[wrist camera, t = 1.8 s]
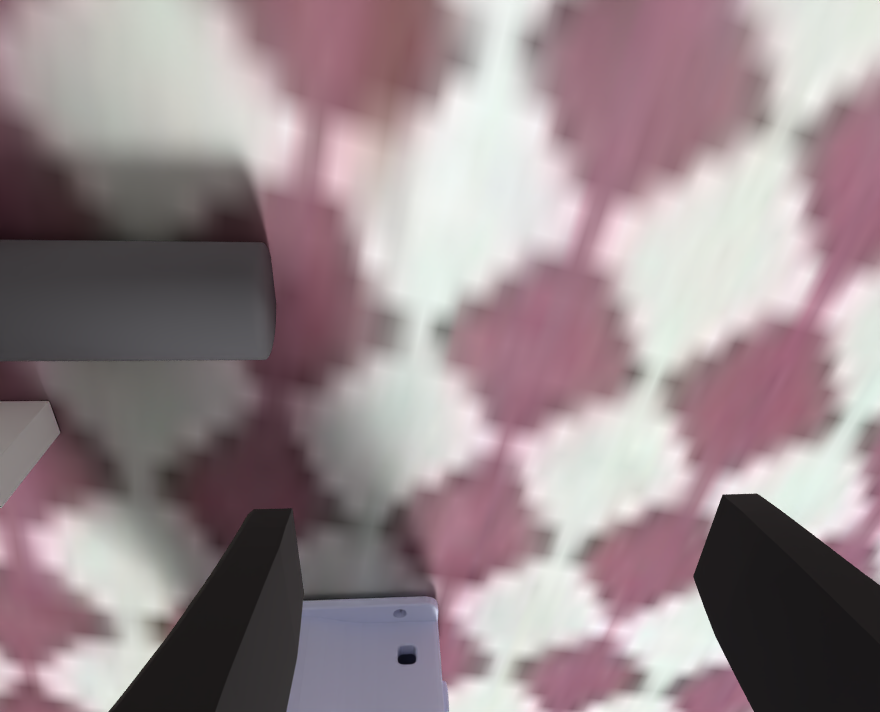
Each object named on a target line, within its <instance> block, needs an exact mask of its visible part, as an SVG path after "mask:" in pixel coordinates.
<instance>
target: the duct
mask: <svg viewBox="0 0 880 712" xmlns="http://www.w3.org/2000/svg"><path fill="white" fill-rule="evenodd" d="M59 434H60V430H59V428H58V425H57V422H56V419H55V416H54V414H53V411H52V408H51V405H50V402H49V401H0V508H2V507H3V505H4V504H5V503H6V502H7V500H8V499H9V498H10V496H11V495H12V494H13V493H14V491H15V490H16V489H17V488H18V486H19V485H20V484H21V482H22V481H23V480H24V479H25V477H26V476H27V475H28V474H29V472H30V471H31V470H32V468H33V467H34V466H35V465H36V463H37V462H38V461H39V460H40V458H41V457H42V456H43V454H44V453H45V452H46V451H47V449H48V448H49V447H50V446H51V444H52V443H53V442H54V440H55V439H56V438H57V437H58V435H59Z"/></svg>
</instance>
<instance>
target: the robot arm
mask: <svg viewBox="0 0 880 712" xmlns="http://www.w3.org/2000/svg"><path fill="white" fill-rule="evenodd" d="M693 577H694V580H695V583H696V585H697V588H698V591H699V594H700V597H701V600H702V602H703V605H704V608H705V611H706V613H707V616H708V618H709V621H710V624H711V626H712V629H713V631H714V634H715V636H716V638H717V640H718V642H719V644H720V646H721V648H722V650H723V652H724V654H725V656H726V658H727V660H728V662H729V664H730V666H731V668H732V670H733V672H734V674H735V676H736V678H737V680H738V682H739V684H740V686H741V688H742V690H743V691H744V693H745V695H746V697H747V699H748V701H749V703H750V705H751V707H752V709H753V711H754V712H880V585H879V584H877V583H876V582H875V581H873V580H872V579H870V578H869V577H868V576H866V575H865V574H864V573H862V572H861V571H860V570H859V569H857V568H856V567H855V566H853V565H852V564H851V563H849V562H848V561H847V560H845V559H844V558H843V557H841V556H840V555H839V554H837V553H836V552H835V551H833V550H832V549H831V548H830V547H828V546H827V545H826V544H824V543H823V542H822V541H820V540H819V539H818V538H816V537H815V536H814V535H813V534H811V533H810V532H809V531H807V530H806V529H805V528H803V527H802V526H801V525H799V524H798V523H797V522H795V521H794V520H793V519H791V518H790V517H789V516H787V515H786V514H785V513H783V512H782V511H781V510H779V509H778V508H777V507H775V506H774V505H773V504H771V503H770V502H768V501H767V500H766V499H764V498H763V497H761V496H760V495H758V494H731V495H722V498H721V501H720V504H719V506H718V509H717V512H716V515H715V518H714V520H713V523H712V526H711V529H710V531H709V534H708V537H707V540H706V543H705V545H704V548H703V551H702V554H701V556H700V559H699V562H698V565H697V568H696V570H695V573H694V576H693ZM303 596H304V590H303V583H302V576H301V568H300V561H299V554H298V547H297V539H296V532H295V525H294V517H293V510H292V508H287V509H255V510H253V511H252V512H250V513H249V514H248V515H247V517H246V519H245V520H244V522H243V524H242V525H241V527H240V529H239V530H238V532H237V534H236V535H235V537H234V539H233V540H232V542H231V544H230V545H229V547H228V548H227V550H226V552H225V553H224V555H223V556H222V558H221V559H220V561H219V563H218V564H217V566H216V567H215V569H214V570H213V572H212V573H211V575H210V576H209V578H208V579H207V581H206V582H205V584H204V585H203V587H202V588H201V590H200V591H199V592H198V594H197V595H196V597H195V598H194V600H193V601H192V602H191V604H190V605H189V607H188V608H187V609H186V611H185V612H184V614H183V615H182V617H181V618H180V619H179V621H178V622H177V624H176V625H175V627H174V628H173V629H172V631H171V632H170V633H169V635H168V636H167V638H166V639H165V640H164V642H163V643H162V644H161V646H160V647H159V648H158V649H157V651H156V652H155V653H154V655H153V656H152V657H151V658H150V660H149V661H148V662H147V664H146V665H145V666H144V668H143V669H142V670H141V671H140V673H139V674H138V675H137V677H136V678H135V679H134V680H133V682H132V683H131V684H130V686H129V687H128V688H127V689H126V691H125V692H124V693H123V695H122V696H121V697H120V698H119V700H118V701H117V702H116V703H115V704H114V706H113V707H112V708H111V709H110V710H109V712H449V701H448V689H447V683H446V682H445V681H442V671H441V657H440V644H439V631H438V603H437V601H436V600H435V599H434V598H432V597H429V596H417V597H390V598H363V599H336V600H309V601H303Z"/></svg>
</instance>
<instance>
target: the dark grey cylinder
mask: <svg viewBox="0 0 880 712" xmlns="http://www.w3.org/2000/svg"><path fill="white" fill-rule="evenodd" d="M275 325H276V298H275V290H274V281H273V272H272V263H271V256H270V253H269V250H268V248H267V246H266V245H265V243H263V242H186V241H85V240H0V361H141V360H266V359H267V358H268V357H269V355H270V353H271V350H272V346H273V342H274V335H275Z"/></svg>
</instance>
